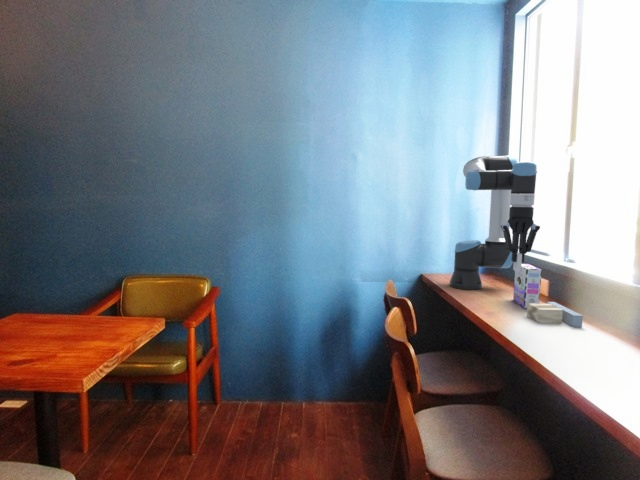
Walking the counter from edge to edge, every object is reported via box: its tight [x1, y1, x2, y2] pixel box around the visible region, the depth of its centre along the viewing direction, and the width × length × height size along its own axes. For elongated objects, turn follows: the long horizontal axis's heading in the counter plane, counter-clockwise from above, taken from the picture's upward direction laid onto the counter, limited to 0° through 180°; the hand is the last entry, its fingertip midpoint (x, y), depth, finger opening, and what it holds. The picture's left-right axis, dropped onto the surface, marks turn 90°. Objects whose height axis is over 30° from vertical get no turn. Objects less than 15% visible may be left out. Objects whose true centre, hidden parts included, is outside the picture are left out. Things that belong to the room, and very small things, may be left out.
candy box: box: [512, 263, 543, 309], centre depth 150 cm, size 14×6×16 cm, turn 168°
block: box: [526, 302, 563, 324], centre depth 131 cm, size 8×8×5 cm
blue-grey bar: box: [545, 301, 584, 328], centre depth 132 cm, size 17×3×4 cm, turn 176°
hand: (517, 270), depth 132 cm, fingers closed
